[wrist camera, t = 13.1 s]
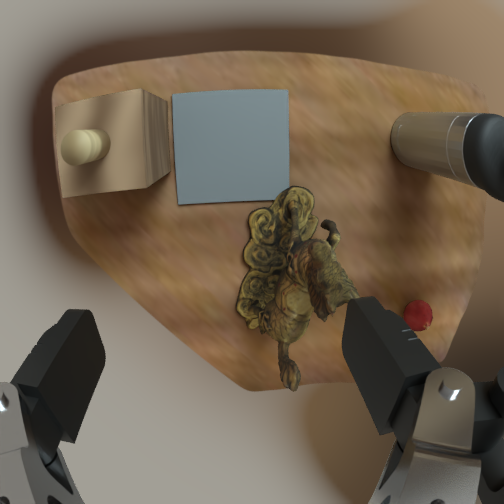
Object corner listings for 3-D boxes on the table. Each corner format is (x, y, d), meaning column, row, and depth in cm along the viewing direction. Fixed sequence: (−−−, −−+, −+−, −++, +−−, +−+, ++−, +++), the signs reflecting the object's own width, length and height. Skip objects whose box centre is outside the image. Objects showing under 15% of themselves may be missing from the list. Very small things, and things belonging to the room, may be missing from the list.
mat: (287, 90, 38) (288, 89, 38) (288, 198, 44) (289, 199, 44) (172, 94, 37) (172, 94, 37) (178, 203, 43) (178, 204, 43)
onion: (424, 292, 53) (446, 314, 46) (415, 317, 55) (434, 340, 48) (402, 292, 52) (423, 314, 45) (392, 317, 54) (411, 341, 47)
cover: (167, 101, 38) (125, 80, 21) (170, 171, 42) (132, 198, 24) (101, 111, 37) (29, 105, 20) (105, 178, 41) (39, 209, 24)
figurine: (342, 202, 45) (416, 255, 26) (282, 332, 53) (309, 423, 35) (264, 173, 42) (300, 212, 24) (212, 317, 51) (213, 413, 32)
